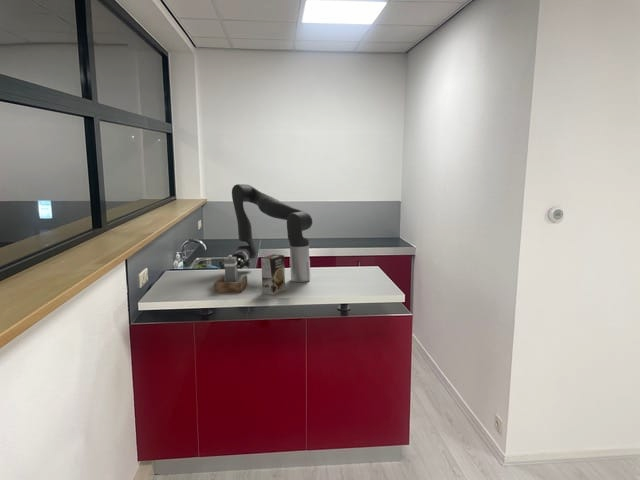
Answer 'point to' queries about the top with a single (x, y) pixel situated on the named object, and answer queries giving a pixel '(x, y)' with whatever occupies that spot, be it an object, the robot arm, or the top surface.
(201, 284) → the top surface
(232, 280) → the connector plug
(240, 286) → the caddy
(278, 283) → the coffee box
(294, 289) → the top surface
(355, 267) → the top surface
